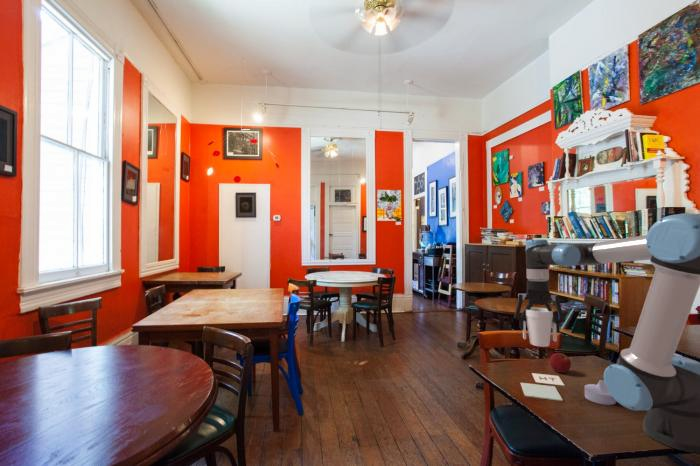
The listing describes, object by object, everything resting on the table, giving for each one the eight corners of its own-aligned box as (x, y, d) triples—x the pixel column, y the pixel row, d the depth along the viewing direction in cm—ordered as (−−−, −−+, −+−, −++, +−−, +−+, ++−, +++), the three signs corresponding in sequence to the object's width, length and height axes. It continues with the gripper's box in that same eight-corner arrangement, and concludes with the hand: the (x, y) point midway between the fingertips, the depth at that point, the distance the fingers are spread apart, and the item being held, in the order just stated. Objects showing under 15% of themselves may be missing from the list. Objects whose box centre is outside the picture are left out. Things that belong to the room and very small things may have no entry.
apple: (553, 374, 144) (552, 355, 145) (548, 367, 152) (547, 349, 152) (573, 376, 142) (573, 357, 142) (567, 369, 150) (566, 351, 150)
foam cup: (558, 348, 123) (556, 312, 123) (530, 347, 125) (529, 311, 125) (548, 341, 132) (547, 307, 133) (522, 340, 134) (521, 307, 135)
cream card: (564, 385, 133) (564, 385, 133) (535, 382, 136) (535, 381, 136) (558, 376, 142) (558, 375, 142) (531, 373, 146) (531, 372, 146)
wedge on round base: (626, 398, 122) (582, 391, 128) (625, 379, 122) (582, 373, 128) (634, 409, 114) (587, 401, 120) (633, 389, 114) (586, 382, 120)
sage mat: (562, 401, 120) (562, 399, 120) (524, 396, 124) (524, 395, 124) (554, 387, 131) (554, 386, 131) (520, 383, 135) (520, 382, 135)
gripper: (568, 279, 129) (570, 339, 128) (505, 278, 137) (506, 334, 136) (574, 281, 122) (576, 344, 121) (506, 280, 130) (508, 339, 129)
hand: (539, 339), depth 129 cm, fingers closed on foam cup, 9 cm apart
